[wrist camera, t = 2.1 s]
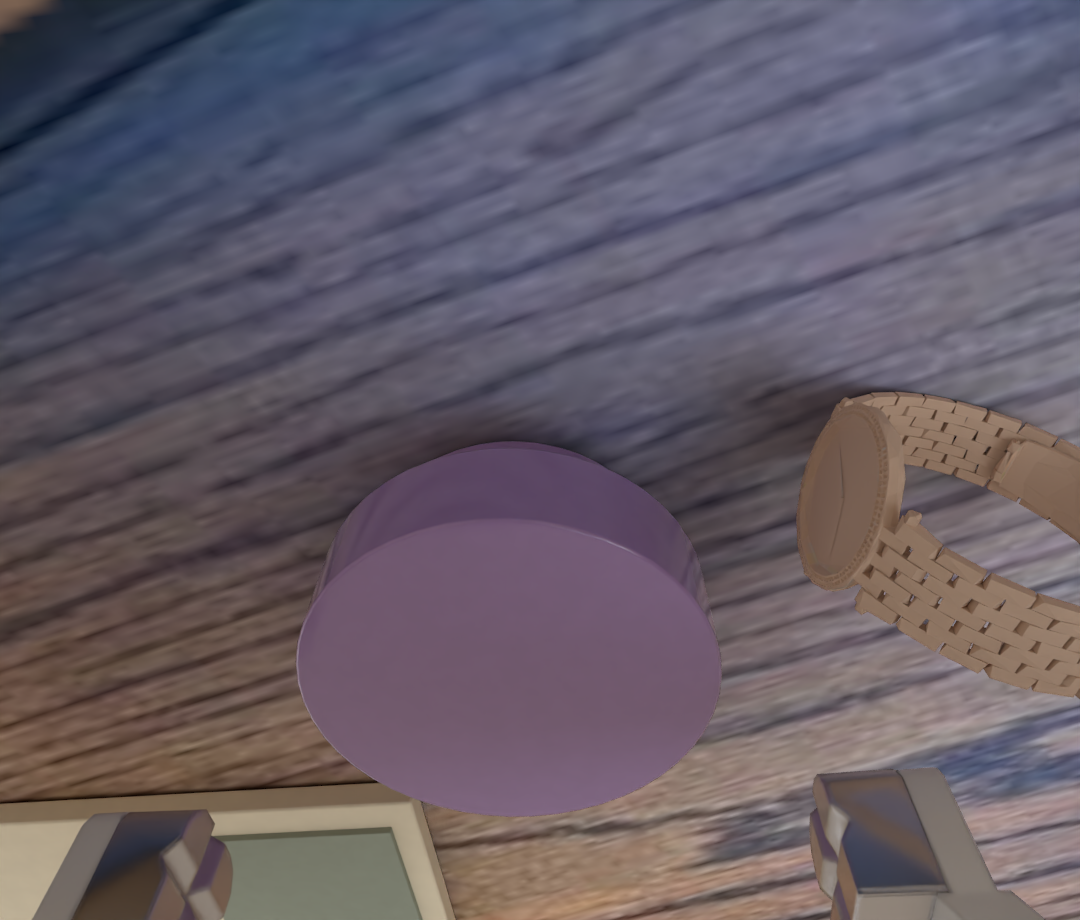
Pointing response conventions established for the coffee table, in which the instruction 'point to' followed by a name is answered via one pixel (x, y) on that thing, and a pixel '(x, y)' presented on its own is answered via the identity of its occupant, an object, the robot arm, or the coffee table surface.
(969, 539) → the coffee table surface
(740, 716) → the coffee table surface
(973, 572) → the perforated watch strap
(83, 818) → the mat
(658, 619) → the lavender hockey puck
